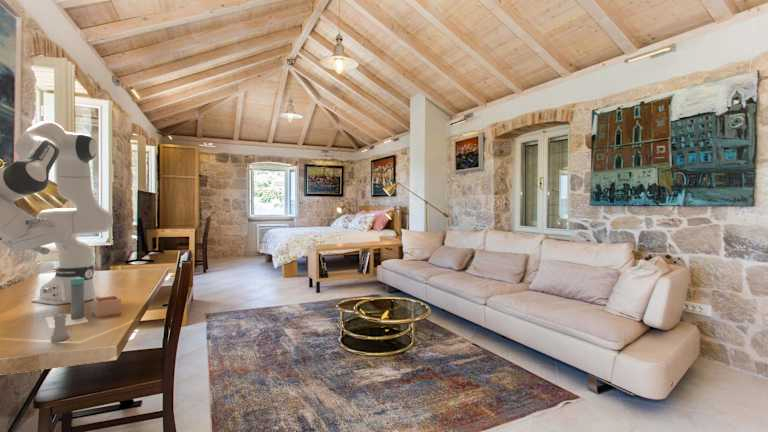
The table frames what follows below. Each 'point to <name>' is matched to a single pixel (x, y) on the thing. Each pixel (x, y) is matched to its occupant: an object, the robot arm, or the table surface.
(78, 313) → the marker
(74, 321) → the drawing board
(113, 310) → the pen cup
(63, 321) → the rook chess piece
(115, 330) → the table surface
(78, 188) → the robot arm
